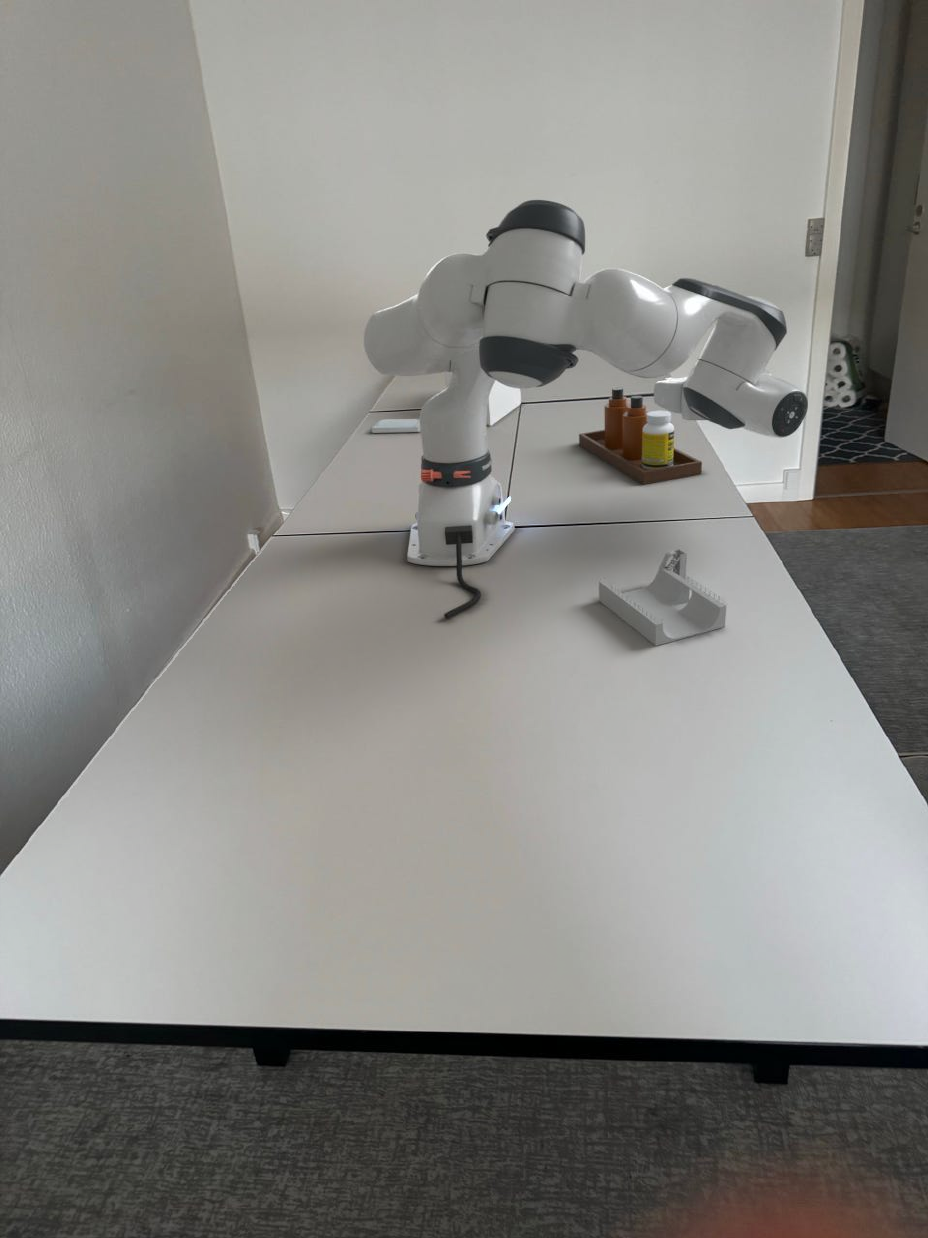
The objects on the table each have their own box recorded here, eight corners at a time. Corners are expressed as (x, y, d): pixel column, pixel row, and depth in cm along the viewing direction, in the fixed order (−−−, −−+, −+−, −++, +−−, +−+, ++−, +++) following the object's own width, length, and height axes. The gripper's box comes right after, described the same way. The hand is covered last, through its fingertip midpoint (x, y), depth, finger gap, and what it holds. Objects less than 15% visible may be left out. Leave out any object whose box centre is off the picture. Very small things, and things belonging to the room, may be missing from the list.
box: (451, 429, 211) (445, 372, 204) (445, 394, 246) (441, 344, 239) (530, 422, 211) (527, 364, 204) (513, 387, 246) (510, 337, 240)
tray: (701, 473, 165) (701, 461, 164) (643, 484, 163) (643, 472, 162) (629, 435, 193) (629, 425, 191) (579, 444, 190) (578, 433, 189)
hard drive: (371, 427, 213) (418, 426, 210) (381, 418, 220) (426, 417, 217) (372, 433, 214) (418, 432, 211) (382, 425, 221) (427, 423, 218)
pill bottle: (673, 472, 166) (675, 416, 161) (641, 472, 168) (642, 417, 162) (672, 462, 172) (674, 408, 166) (642, 463, 173) (643, 409, 168)
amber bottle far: (634, 446, 183) (635, 389, 178) (611, 450, 182) (611, 392, 176) (623, 440, 188) (623, 384, 182) (600, 444, 187) (600, 387, 181)
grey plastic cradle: (599, 601, 121) (598, 568, 118) (678, 580, 125) (679, 549, 122) (655, 646, 108) (656, 611, 106) (741, 622, 112) (744, 587, 110)
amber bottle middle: (654, 457, 176) (655, 397, 170) (629, 461, 174) (630, 401, 169) (642, 450, 180) (642, 392, 175) (618, 454, 179) (618, 396, 174)
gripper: (789, 365, 139) (742, 352, 151) (678, 383, 135) (639, 368, 147) (786, 403, 142) (740, 388, 154) (677, 422, 138) (638, 404, 150)
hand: (690, 378), depth 150 cm, fingers open, 8 cm apart
